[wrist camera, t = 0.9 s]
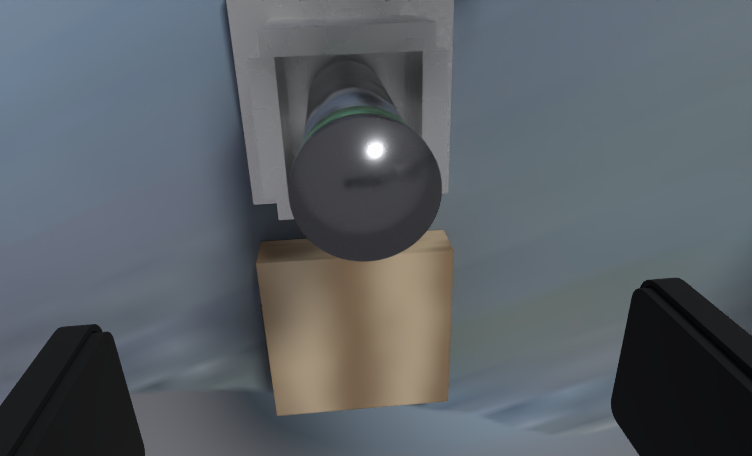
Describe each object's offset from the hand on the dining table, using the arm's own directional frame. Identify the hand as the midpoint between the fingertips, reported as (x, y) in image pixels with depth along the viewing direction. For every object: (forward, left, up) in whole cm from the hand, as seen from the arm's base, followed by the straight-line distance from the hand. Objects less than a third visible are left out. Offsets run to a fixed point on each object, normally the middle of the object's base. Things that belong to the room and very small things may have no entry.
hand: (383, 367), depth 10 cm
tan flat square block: (0, +15, -24) cm, 28 cm away
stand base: (0, 0, -24) cm, 24 cm away
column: (0, 0, -23) cm, 23 cm away
